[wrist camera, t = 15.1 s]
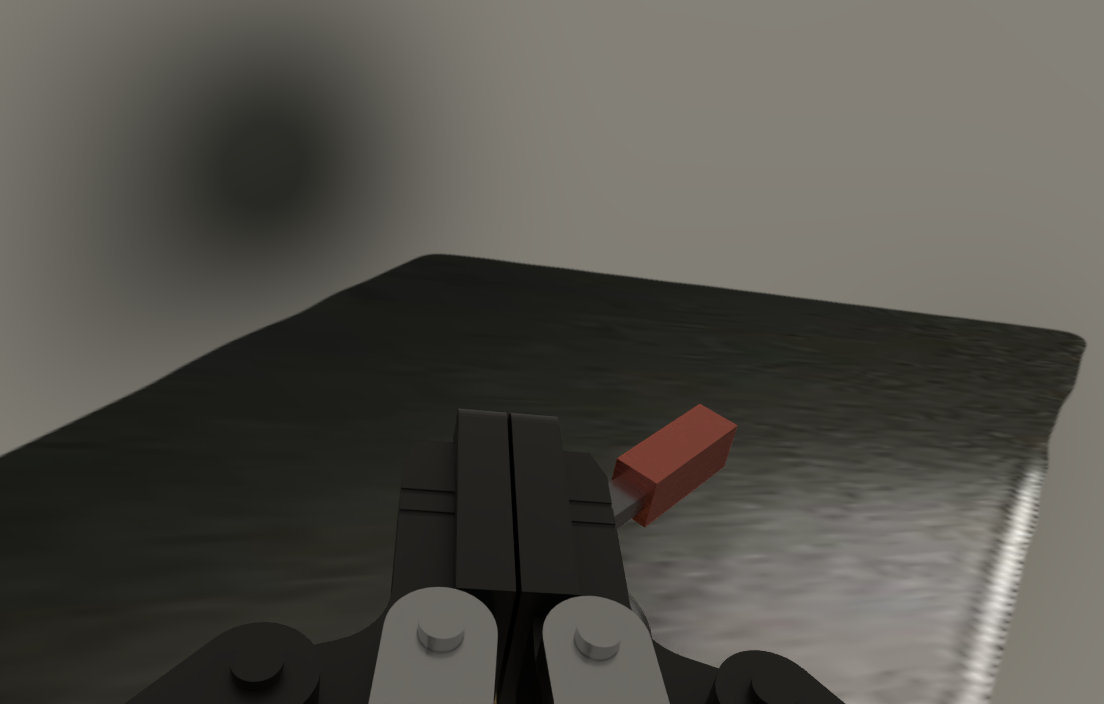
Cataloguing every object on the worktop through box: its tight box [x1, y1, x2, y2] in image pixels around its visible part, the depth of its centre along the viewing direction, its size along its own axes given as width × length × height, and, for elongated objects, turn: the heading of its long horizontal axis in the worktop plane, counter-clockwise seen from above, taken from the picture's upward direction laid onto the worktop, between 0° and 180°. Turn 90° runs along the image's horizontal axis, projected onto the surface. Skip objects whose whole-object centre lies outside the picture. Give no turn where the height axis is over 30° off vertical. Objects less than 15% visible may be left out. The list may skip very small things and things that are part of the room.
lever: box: [608, 404, 737, 529], centre depth 50 cm, size 20×3×3 cm, turn 139°
